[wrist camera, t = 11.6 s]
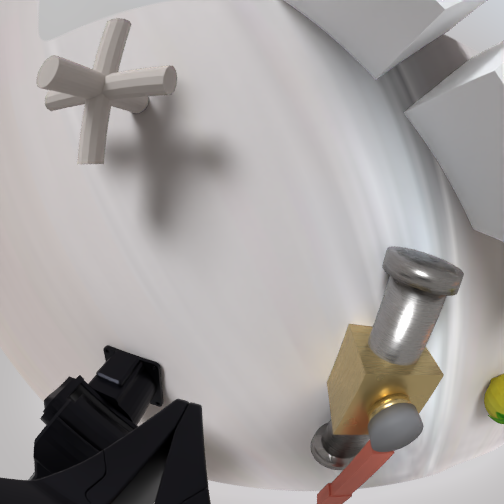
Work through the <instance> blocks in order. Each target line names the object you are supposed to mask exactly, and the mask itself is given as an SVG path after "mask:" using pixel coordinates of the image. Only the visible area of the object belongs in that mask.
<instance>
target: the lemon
mask: <svg viewBox="0 0 504 504" xmlns="http://www.w3.org/2000/svg"><path fill="white" fill-rule="evenodd" d="M484 404H485V408H486V410H487V412H488V413H489V415H490V416H489V415H488V416H489V417H490V418H491V419H493V420H494V421H496V422H497V423H500V424H504V374H502V375H500V376H498V377H495V378H493V379H492V380H491V382H490V385H489V387H488V389H487V391H486V393H485V398H484Z"/></svg>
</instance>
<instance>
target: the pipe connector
mask: <svg viewBox="0 0 504 504" xmlns="http://www.w3.org/2000/svg"><path fill="white" fill-rule="evenodd" d="M130 27H131V23H130V21H128V20H126V19H120V18H117V19H111V20H109V21H107V23H106V26H105V29H104V32H103V35H102V38H101V41H100V44H99V47H98V51H97V54H96V58H95V61H94V65H93V69H90V68H88V67H85V66H83V65H80V64H78V63H75V62H72V61H70V60H67V59H64V58H61V57H58V56H55V55H53V56H51V57H49V58H48V59H47V60H46V61H45V62H44V63H43V64H42V66H41V68H40V70H39V72H38V75H37V86H38V87H39V88H42V89H47V90H49V91H48V92H47V94H46V97H45V105H46V107H47V109H49V110H50V111H53V110H58V109H62V108H67V107H72V106H77V105H82V104H85V106H84V112H83V118H82V125H81V132H80V140H79V150H78V161H77V164H104V154H105V144H106V136H107V128H108V122H109V115H110V109H111V106H113V107H117V108H120V109H123V110H127V111H130V112H133V113H140V112H142V111H143V110H145V108H146V107H147V105H148V102H149V98H148V96H157V95H171V94H172V93H173V92H174V91H175V88H176V84H177V74H176V70H175V68H174V67H173V66H160V67H150V68H142V69H135V70H128V71H122V72H118V70H119V66H120V62H121V58H122V54H123V50H124V47H125V43H126V40H127V36H128V33H129V30H130Z"/></svg>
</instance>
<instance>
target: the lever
mask: <svg viewBox="0 0 504 504" xmlns="http://www.w3.org/2000/svg"><path fill="white" fill-rule="evenodd" d="M422 430H423V423H422V421H421V418H420V416H419V413H418V411H417V408H416V407H415V405H413V404H411V403H398V404H395V405H392V406H389V407H387V408H385V409H383V410H381V411H380V412H378V413H377V414H376V415H375V416H373V418H372V419H371V420H370V421H369V423H368V433H369V438H370V440H369V441H368V442H367V443H366V445H365V446H364V447H363V448H362V449H361V451H360V452H359V453H358V454H357V455H356V457H355V458H354V459H353V460H352V461H351V462H350V464H349V465H348V466H347V467H346V468H345V469H344V470H343V471H342V472H341V473H340V475H339V476H338V477H337V478H336V479H335V480H334V481H333V482H332V483H328V484H327V485H326V486H325V487H324V488H323V489H322V490H321V491H320V492H319V493H318V494H317V504H343V503H344V502H345V501H346V500H348V499H349V498H350V497H351V496H352V493H353V492H354V491H355V490H357V489H358V488H359V487H360V486H361V485H362V484H363V483H364V482H366V481H367V480H368V479H369V478H370V477H371V476H372V475H373V474H374V473H375V472H376V471H377V470H378V469H379V468H380V467H381V466H382V465H383V464H384V463H385V462H386V461H387V460H388V459H389V458H390V457H391V456H392V455H393V454H394V450H397V449H400V448H402V447H404V446H406V445H408V444H410V443H411V442H412V441H414V440H415V439H416V438H417V437H418V436H419V435H420V434H421V432H422Z"/></svg>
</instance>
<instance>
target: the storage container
mask: <svg viewBox="0 0 504 504" xmlns="http://www.w3.org/2000/svg"><path fill="white" fill-rule="evenodd" d="M283 1H285V2H286V3H288V4H289V5H291V6H292V7H294V8H295V9H296V10H298V11H299V12H301V13H302V14H303V15H305V16H306V17H307V18H309V19H310V20H311V21H312V22H314V23H315V24H316V25H317V26H319V27H320V28H321V29H322V30H324V31H325V32H326V33H327V34H328V35H330V36H331V37H332V38H333V39H334V40H335V41H336V42H338V43H339V44H340V45H341V46H342V47H343V48H344V49H345V50H346V51H347V52H348V53H350V54H351V55H352V56H353V57H354V58H355V59H356V60H357V61H358V62H359V63H360V64H361V65H362V66H363V67H364V68H365V69H366V70H367V71H368V72H369V73H370V75H371V76H372V77H373V78H374V79H375V80H377V79H378V78H379V77H381V76H382V75H383V74H385V73H386V72H388V71H389V70H390V69H392V68H393V67H395V66H396V65H398V64H399V63H400V62H402V61H403V60H405V59H406V58H408V57H409V56H411V55H412V54H414V53H415V52H417V51H418V50H420V49H421V48H423V47H424V46H426V45H427V44H429V43H430V42H432V41H433V40H435V39H436V38H438V37H440V36H441V35H443V34H445V33H446V32H448V31H449V30H450V29H452V28H453V27H454V26H455V25H456V24H458V23H459V22H460V21H461V20H463V19H464V18H465V17H466V16H468V15H469V14H470V13H471V12H473V11H474V10H475V9H477V8H478V7H479V6H480V5H482V4H483V3H484V2H486V1H487V0H443V1H442V0H283ZM503 75H504V41H502V42H500V43H498V44H496V45H494V46H493V47H491V48H489V49H487V50H485V51H483V52H481V53H479V54H478V55H476V56H474V57H472V58H471V59H469V60H468V61H467V62H466V63H464V64H463V65H462V66H460V67H459V68H458V69H457V70H455V71H454V72H453V73H452V74H450V75H449V76H448V77H447V78H445V79H444V80H443V81H442V82H440V83H439V84H438V85H437V86H435V87H434V88H433V89H432V90H431V91H429V92H428V93H427V94H426V95H424V96H423V97H422V98H421V99H419V100H418V101H417V102H416V103H414V104H413V105H412V106H411V107H410V108H408V109H407V110H406V111H405V112H403V113H404V114H405V116H406V117H407V118H408V119H409V121H410V122H411V123H412V125H413V126H414V128H415V129H416V130H417V132H418V133H419V134H420V136H421V137H422V139H423V140H424V142H425V143H426V145H427V146H428V148H429V149H430V151H431V152H432V154H433V155H434V157H435V158H436V160H437V162H438V163H439V165H440V167H441V168H442V170H443V172H444V173H445V175H446V177H447V178H448V180H449V182H450V184H451V186H452V187H453V189H454V191H455V193H456V195H457V197H458V199H459V201H460V203H461V204H462V206H463V209H464V211H465V213H466V215H467V217H468V219H469V221H470V223H471V226H472V228H473V230H476V231H478V232H481V233H483V234H486V235H488V236H491V237H493V238H496V239H498V240H500V241H503V242H504V76H503Z"/></svg>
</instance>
